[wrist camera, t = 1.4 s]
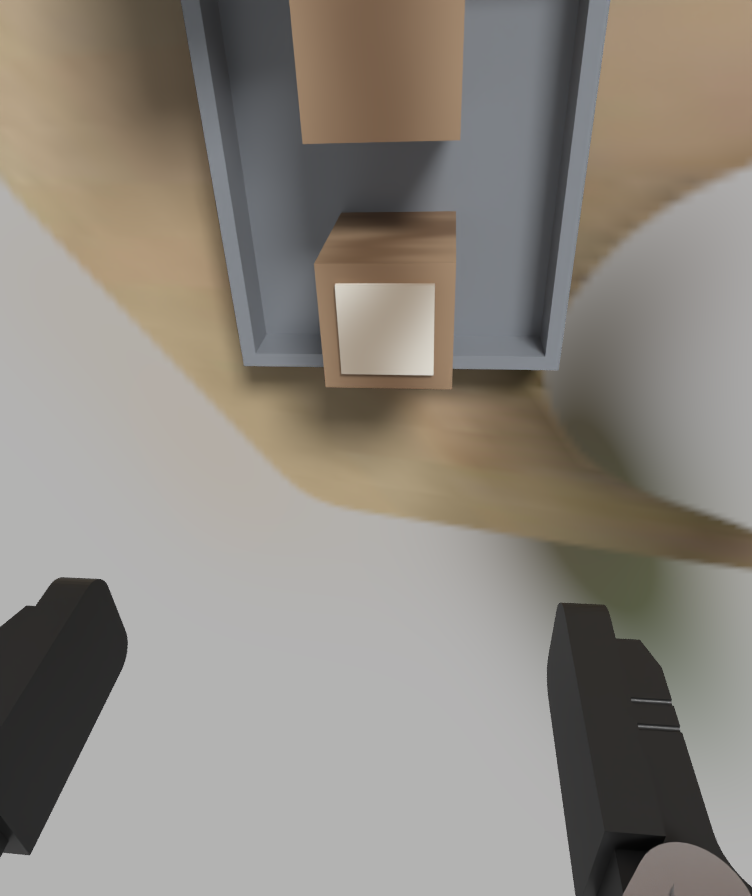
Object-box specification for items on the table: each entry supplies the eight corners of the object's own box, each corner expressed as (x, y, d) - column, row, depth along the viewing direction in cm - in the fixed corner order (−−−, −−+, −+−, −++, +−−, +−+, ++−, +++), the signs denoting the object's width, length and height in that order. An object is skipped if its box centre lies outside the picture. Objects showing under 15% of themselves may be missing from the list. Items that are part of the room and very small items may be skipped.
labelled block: (455, 211, 25) (456, 265, 20) (452, 319, 27) (451, 392, 22) (341, 212, 25) (312, 265, 20) (348, 318, 28) (324, 390, 23)
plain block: (464, -50, 20) (467, -65, 15) (459, 110, 23) (460, 140, 18) (324, -42, 21) (283, -55, 16) (334, 113, 23) (302, 143, 18)
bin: (609, -112, 20) (627, -125, 18) (551, 343, 28) (558, 370, 26) (192, -86, 21) (164, -95, 19) (258, 340, 30) (244, 365, 28)
